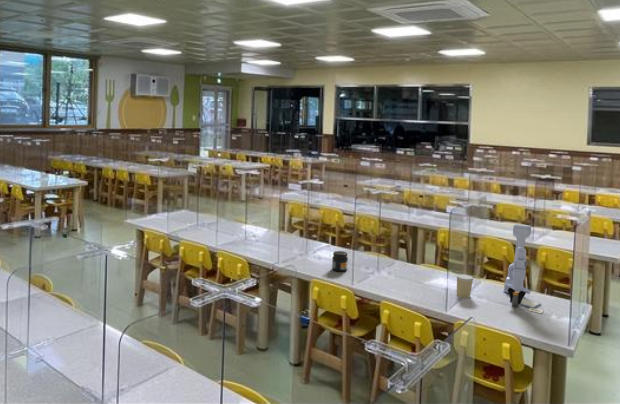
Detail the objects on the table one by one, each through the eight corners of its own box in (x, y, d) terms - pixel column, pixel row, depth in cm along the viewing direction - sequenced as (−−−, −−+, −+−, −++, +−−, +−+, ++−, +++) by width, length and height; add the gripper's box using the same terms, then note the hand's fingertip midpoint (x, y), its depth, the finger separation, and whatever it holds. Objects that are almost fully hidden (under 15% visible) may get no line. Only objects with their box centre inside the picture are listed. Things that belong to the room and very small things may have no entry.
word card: (528, 310, 295) (528, 309, 295) (530, 307, 299) (530, 307, 299) (541, 313, 291) (541, 313, 291) (543, 311, 295) (543, 310, 295)
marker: (510, 305, 301) (511, 292, 300) (513, 304, 304) (514, 290, 303) (517, 307, 298) (518, 294, 297) (520, 306, 301) (521, 292, 300)
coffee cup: (468, 293, 319) (470, 274, 317) (473, 298, 310) (475, 279, 308) (453, 292, 319) (454, 274, 317) (457, 298, 310) (459, 279, 308)
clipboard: (509, 301, 308) (510, 299, 307) (517, 297, 315) (517, 295, 314) (533, 308, 298) (533, 306, 298) (540, 304, 305) (541, 302, 305)
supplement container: (350, 271, 353) (351, 254, 351) (337, 273, 348) (338, 255, 346) (341, 266, 362) (342, 250, 360) (328, 268, 357) (329, 251, 355)
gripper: (502, 277, 301) (500, 300, 303) (527, 284, 291) (525, 307, 293) (508, 275, 306) (505, 297, 308) (533, 281, 295) (530, 304, 298)
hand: (515, 302), depth 301 cm, fingers closed on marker, 4 cm apart
